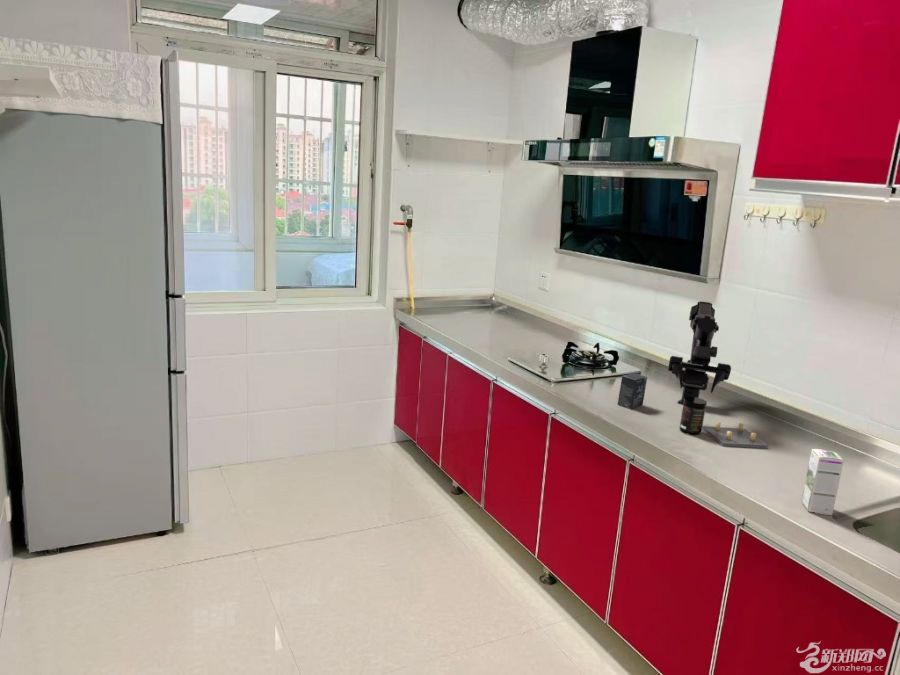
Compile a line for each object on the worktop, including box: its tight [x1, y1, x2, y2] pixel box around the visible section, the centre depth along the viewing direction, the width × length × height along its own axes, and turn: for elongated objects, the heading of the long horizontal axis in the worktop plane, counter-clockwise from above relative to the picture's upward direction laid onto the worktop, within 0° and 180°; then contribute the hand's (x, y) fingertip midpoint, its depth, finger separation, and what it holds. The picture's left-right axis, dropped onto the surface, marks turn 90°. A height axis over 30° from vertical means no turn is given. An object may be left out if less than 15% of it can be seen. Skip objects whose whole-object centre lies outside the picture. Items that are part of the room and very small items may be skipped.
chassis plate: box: [702, 421, 768, 449], centre depth 214 cm, size 14×14×4 cm
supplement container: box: [679, 397, 708, 436], centre depth 216 cm, size 7×7×10 cm
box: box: [617, 372, 648, 410], centre depth 238 cm, size 8×6×11 cm
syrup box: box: [801, 448, 845, 516], centre depth 168 cm, size 6×6×14 cm
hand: (696, 390), depth 220 cm, fingers open, 9 cm apart
